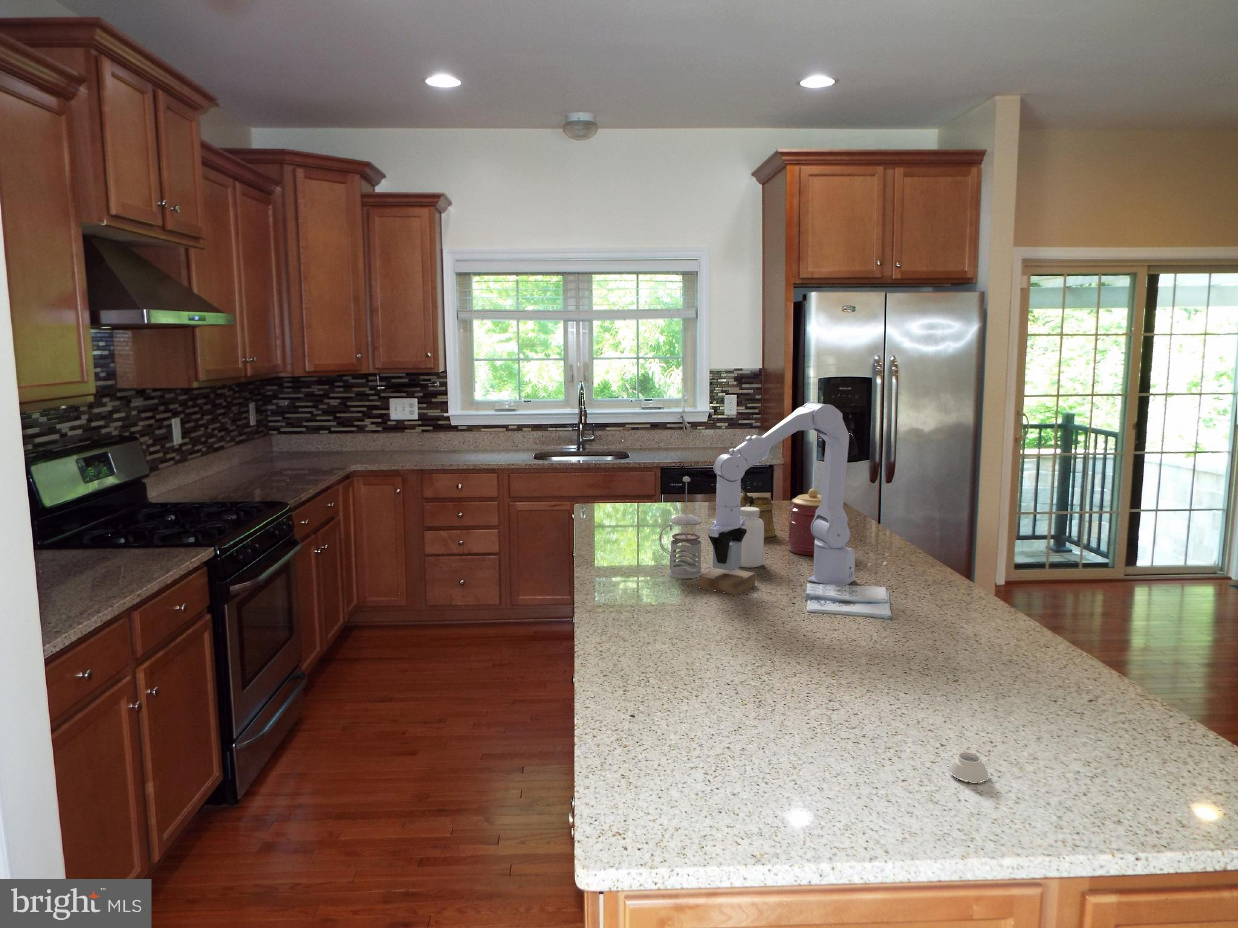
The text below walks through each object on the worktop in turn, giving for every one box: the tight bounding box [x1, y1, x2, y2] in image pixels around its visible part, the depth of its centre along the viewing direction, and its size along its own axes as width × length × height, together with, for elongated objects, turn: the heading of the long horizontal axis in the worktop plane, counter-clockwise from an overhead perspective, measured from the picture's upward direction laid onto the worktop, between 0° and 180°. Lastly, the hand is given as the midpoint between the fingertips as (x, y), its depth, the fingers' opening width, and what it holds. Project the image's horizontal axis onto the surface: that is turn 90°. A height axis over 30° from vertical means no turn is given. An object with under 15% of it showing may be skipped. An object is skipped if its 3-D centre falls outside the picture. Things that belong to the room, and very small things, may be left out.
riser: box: [698, 568, 756, 596], centre depth 207 cm, size 10×10×3 cm
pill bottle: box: [740, 506, 765, 568], centre depth 226 cm, size 8×8×15 cm
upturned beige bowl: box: [948, 751, 990, 782], centre depth 119 cm, size 5×3×5 cm
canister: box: [787, 488, 821, 557], centre depth 240 cm, size 13×13×18 cm
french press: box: [658, 476, 705, 579], centre depth 217 cm, size 10×12×25 cm
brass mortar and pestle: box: [740, 486, 777, 539], centre depth 259 cm, size 9×14×18 cm, turn 91°
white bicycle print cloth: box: [804, 582, 893, 620], centre depth 195 cm, size 19×20×2 cm
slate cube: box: [712, 541, 742, 571], centre depth 206 cm, size 5×5×6 cm
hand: (727, 560), depth 206 cm, fingers closed on slate cube, 5 cm apart
